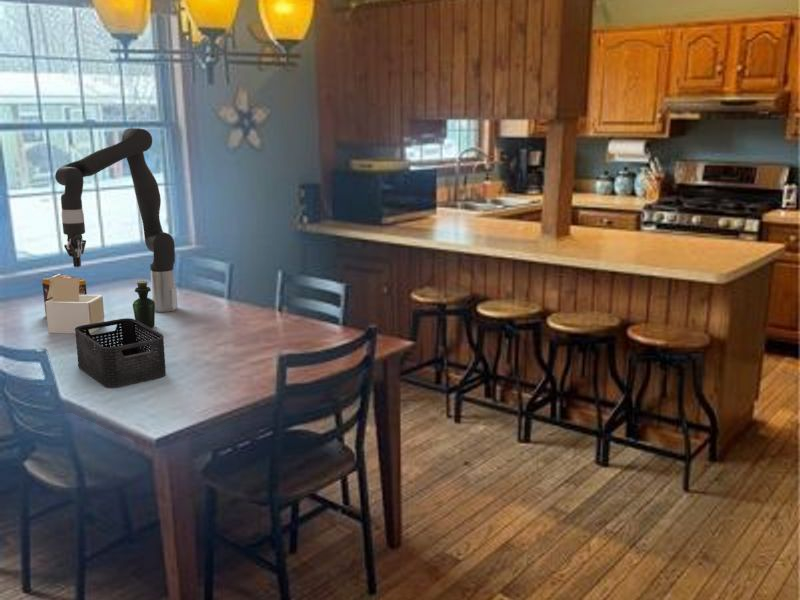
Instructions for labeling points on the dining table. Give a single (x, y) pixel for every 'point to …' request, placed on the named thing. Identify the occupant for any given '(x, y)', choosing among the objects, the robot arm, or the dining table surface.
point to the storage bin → (121, 353)
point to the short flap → (50, 292)
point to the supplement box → (47, 281)
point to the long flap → (66, 289)
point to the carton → (74, 314)
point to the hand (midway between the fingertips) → (77, 266)
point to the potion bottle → (144, 306)
